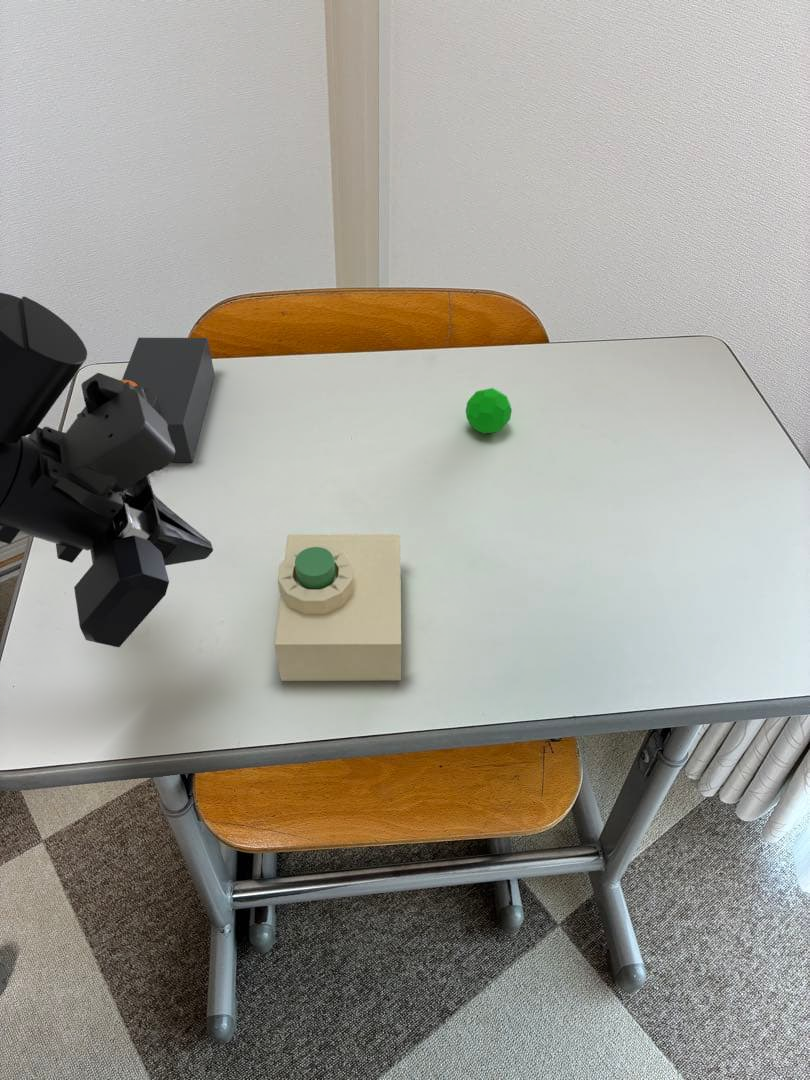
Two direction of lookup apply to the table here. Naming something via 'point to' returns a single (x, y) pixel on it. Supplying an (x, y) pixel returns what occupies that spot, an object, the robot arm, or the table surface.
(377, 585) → the box
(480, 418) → the polyhedron
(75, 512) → the robot arm
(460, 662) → the table surface
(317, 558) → the power button
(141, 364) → the dark gray block
